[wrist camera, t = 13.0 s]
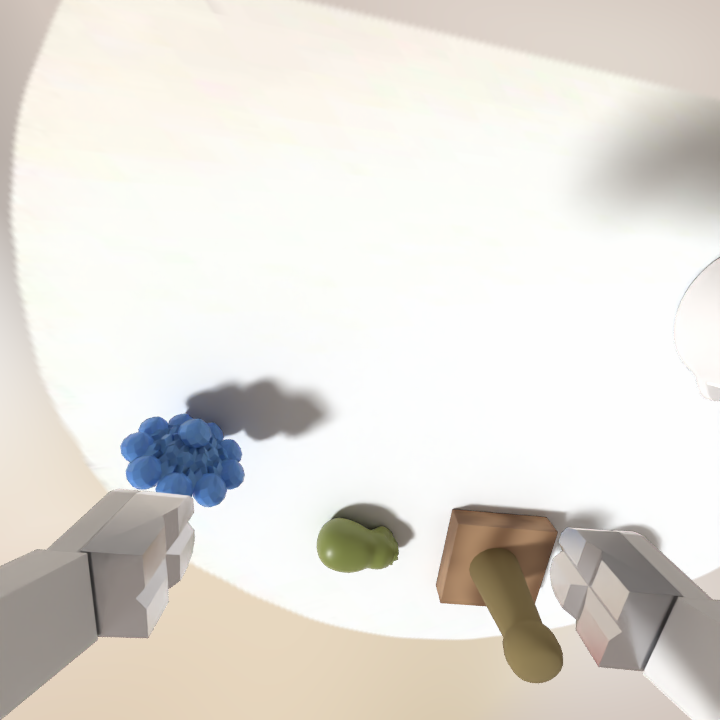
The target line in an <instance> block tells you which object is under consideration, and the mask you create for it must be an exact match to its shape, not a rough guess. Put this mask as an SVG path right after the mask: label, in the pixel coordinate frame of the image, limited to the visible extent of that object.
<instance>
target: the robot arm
mask: <svg viewBox="0 0 720 720" xmlns="http://www.w3.org/2000/svg"><path fill="white" fill-rule="evenodd" d="M674 344H675V348H676V351H677V354H678V356H679V358H680V360H681V361H682V363H683V364H684V365H685V366H686V367H687V368H688V369H689V370H690V371H691V372H692V374H693V375H694V376H695V378H696V383H697V387H698V390H699V393H700V395H701V396H702V397H703V398H705V399H709V400H712V401H720V258H719V259H717V260H716V261H714V262H713V263H712V264H710V265H709V266H708V267H707V268H706V269H705V270H704V271H702V273H701V274H700V275H699V276H698V277H697V278H696V279H695V280H694V281H693V283H692V284H691V285H690V287H689V288H688V290H687V291H686V293H685V295H684V297H683V298H682V301H681V303H680V305H679V308H678V310H677V313H676V317H675V322H674ZM193 513H194V503H193V498H192V497H190V496H188V495H179V494H169V493H160V492H151V491H138V490H128V489H115V490H112V491H110V492H109V493H108V494H107V495H106V496H104V497H103V498H102V499H101V500H100V501H99V502H98V503H97V504H96V505H95V506H93V507H92V509H90V510H89V511H88V512H87V513H86V514H85V515H84V516H83V517H81V518H80V519H79V520H78V521H77V522H76V523H75V524H74V525H73V526H72V527H71V528H69V530H67V531H66V532H65V533H64V534H63V535H62V536H61V537H60V538H59V539H57V541H55V542H54V543H53V544H52V545H51V546H50V547H49V548H48V549H47V550H40V549H37V550H34V551H33V552H30V553H28V554H26V555H23V556H21V557H19V558H17V559H15V560H12V561H11V562H8V563H6V564H4V565H1V566H0V720H1V719H2V718H4V717H5V716H6V715H7V714H9V713H10V712H11V711H12V710H13V709H15V708H16V707H17V706H18V705H19V704H21V703H22V702H23V701H24V700H25V699H27V698H28V697H29V696H30V695H32V694H33V693H34V692H35V691H36V690H38V689H39V688H40V687H41V686H42V685H44V684H45V683H46V682H47V681H48V680H50V679H51V678H52V677H53V676H55V675H56V674H57V673H58V672H59V671H60V670H62V669H63V668H64V667H65V666H67V665H68V664H69V663H70V662H72V661H73V660H74V659H75V658H76V657H78V656H79V655H80V654H81V653H83V652H84V651H85V650H86V649H87V648H89V647H90V646H91V645H92V644H93V643H95V642H96V641H97V640H98V637H126V638H149V636H150V634H151V632H152V631H153V629H154V627H155V625H156V624H157V622H158V620H159V618H160V616H161V615H162V613H163V611H164V609H165V608H166V606H167V604H168V602H169V601H168V589H169V588H171V587H172V586H173V585H175V584H176V583H178V582H179V581H180V580H181V578H182V576H183V575H184V572H185V571H186V569H187V567H188V564H189V561H190V558H191V555H192V552H193V546H194V529H193V528H192V526H191V525H190V524H189V523H188V521H189V519H190V518H191V516H192V515H193ZM559 544H560V546H561V548H562V551H561V552H560V553H559V554H558V555H556V556H555V557H554V558H553V560H552V564H551V568H550V578H551V586H552V588H553V591H554V594H555V596H556V598H557V600H558V601H559V603H560V605H561V607H562V608H563V609H564V610H565V611H567V612H568V613H569V614H570V615H572V616H573V617H574V618H575V619H576V631H577V633H578V634H579V636H580V638H581V639H582V641H583V642H584V644H585V646H586V647H587V649H588V651H589V652H590V654H591V656H592V657H593V659H594V660H595V662H596V663H597V665H598V667H604V668H615V669H625V670H635V671H644V672H643V675H644V676H645V677H647V679H649V680H650V681H651V682H652V683H653V684H654V685H655V686H656V687H657V688H658V689H659V690H660V691H662V692H663V693H664V694H665V695H666V696H667V697H668V698H669V699H670V700H671V701H672V702H673V703H674V704H676V705H677V706H678V707H679V708H680V709H681V710H682V711H683V712H684V713H685V714H686V715H687V716H688V717H689V718H690V719H691V720H720V600H713V599H711V598H710V597H709V596H708V595H707V594H706V593H705V592H704V591H703V590H702V589H701V588H700V587H698V586H697V585H696V584H695V583H694V582H693V581H692V580H691V579H690V578H689V577H688V576H687V575H685V574H684V573H683V572H682V571H681V570H680V569H679V568H678V567H677V566H676V565H675V564H674V563H673V562H671V561H670V560H669V559H668V558H667V557H666V556H665V555H664V554H663V553H662V552H661V551H660V550H658V549H657V548H656V547H655V546H654V545H653V544H652V543H651V542H650V541H649V540H648V539H647V538H645V537H644V536H643V535H641V534H639V533H637V532H635V531H619V530H611V531H608V530H596V529H583V528H570V527H567V528H566V529H565V530H564V531H563V532H562V533H561V536H560V539H559Z"/></svg>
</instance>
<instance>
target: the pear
mask: <svg viewBox="0 0 720 720" xmlns="http://www.w3.org/2000/svg"><path fill="white" fill-rule="evenodd" d="M317 552H318V555H319V558H320V560H321V561H322V563H323V564H324V565H325V566H327V567H328V568H330V569H332V570H335V571H339V572H346V573H350V572H357V571H361V570H363V569H366V568H371V569H382V568H386V567H387V566H388V565H392V563H393V561H395V560H398V557H397V556H398V554H399V550H398V543H397V542H396V540H395V539H394V537H393V534H392V532H391V531H390V530H389V529H387V528H386V527H384V526H380V527H377V528H375V529H373V530H370V529H367V528H365V527H364V526H362V525H361V524H359V523H357V522H354V521H352V520H349V519H345V518H335V519H332V520H330V521H328V522H327V523H326V524H325V525H324V526H323V527H322V529H321V530H320V532H319V535H318V539H317Z"/></svg>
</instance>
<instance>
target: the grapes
mask: <svg viewBox="0 0 720 720" xmlns="http://www.w3.org/2000/svg"><path fill="white" fill-rule="evenodd" d="M138 430H139V432H137V433H134V434H130V435H129V436H128V437H126V438H125V439H124V440H123V442H122V444H121V446H120V447H121V454H122V455H123V456H124V458H125V459H126V460H127V461H129V462H130V463H129V465H128V467H127V469H126V477H127V480H128V481H129V482H130V484H131V485H132V486H133V487H135V488H137V489H149V488H152V487H155V486H156V485H157V486H156V492H160V493H169V494H179V495H188V496H190V497H192V494H193V497H194V498H195V500H196V501H197V502H198V503H199V504H200V505H202V506H204V507H212V506H215V505H218V504H220V503H221V502H222V500H223V499H224V498H225V496H226V492H227V489H234V488H236V487H239V485H240V484H241V483H242V482H243V480H244V476H245V474H244V470H243V467H242V466H241V465H240V463H239V461H240V460H241V456H242V452H241V448H240V447H239V445H238V444H237V443H236V442H235V441H234V440H231V439H226V440H223V438H224V436H223V432H222V430H221V429H220V427H219V426H218V425H217V424H216V423H206V422H204V421H203V420H202V419H200V418H196V419H193V418H192V417H191V416H189V415H188V414H180V415H176V416H174V417H173V418H172V419H170V420H169V423H167V421H166V420H164V419H163V418H161V417H152V418H149V419H146V420H145V421H144V422H142V423H141V425H140V427H139V429H138Z"/></svg>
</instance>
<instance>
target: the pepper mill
mask: <svg viewBox="0 0 720 720" xmlns="http://www.w3.org/2000/svg"><path fill="white" fill-rule="evenodd" d="M469 571H470V576H471V578H472V580H473V582H474V583H475V585H476V587H477V589H478V591H479V593H480V595H481V596H482V598H483V600H484V602H485V604H486V606H487V608H488V609H489V611H490V613H491V615H492V617H493V619H494V621H495V623H496V624H497V626H498V628H499V630H500V632H501V634H502V636H503V637H504V638H503V648H504V655H505V657H506V660H507V662H508V664H509V665H510V667H511V669H512V670H513V672H514V673H515V674H516V675H517V676H518V677H519V678H521V679H522V680H524V681H527V682H530V683H543V682H546V681H549V680H551V679H552V678H554V677H555V676H556V675H557V674H558V673H559V672H560V671H561V668H562V666H563V656H562V655H563V653H562V650H561V647H560V645H559V643H558V641H557V639H556V638H555V636H554V634H553V633H552V632H551V631H550V629H549V628H547V627H546V626H545V625H543V624H542V621H541V619H540V616H539V614H538V611H537V609H536V606H535V603H534V601H533V598H532V596H531V593H530V590H529V588H528V585H527V583H526V580H525V577H524V575H523V572H522V570H521V567H520V565H519V562H518V560H517V558H516V556H515V555H514V554H513V553H512V552H510V551H509V550H506V549H503V548H492V549H487V550H485V551H483V552H480V553H479V554H478V555H477V556H475V557H474V559H473V560H472V562H471V564H470V568H469Z"/></svg>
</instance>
